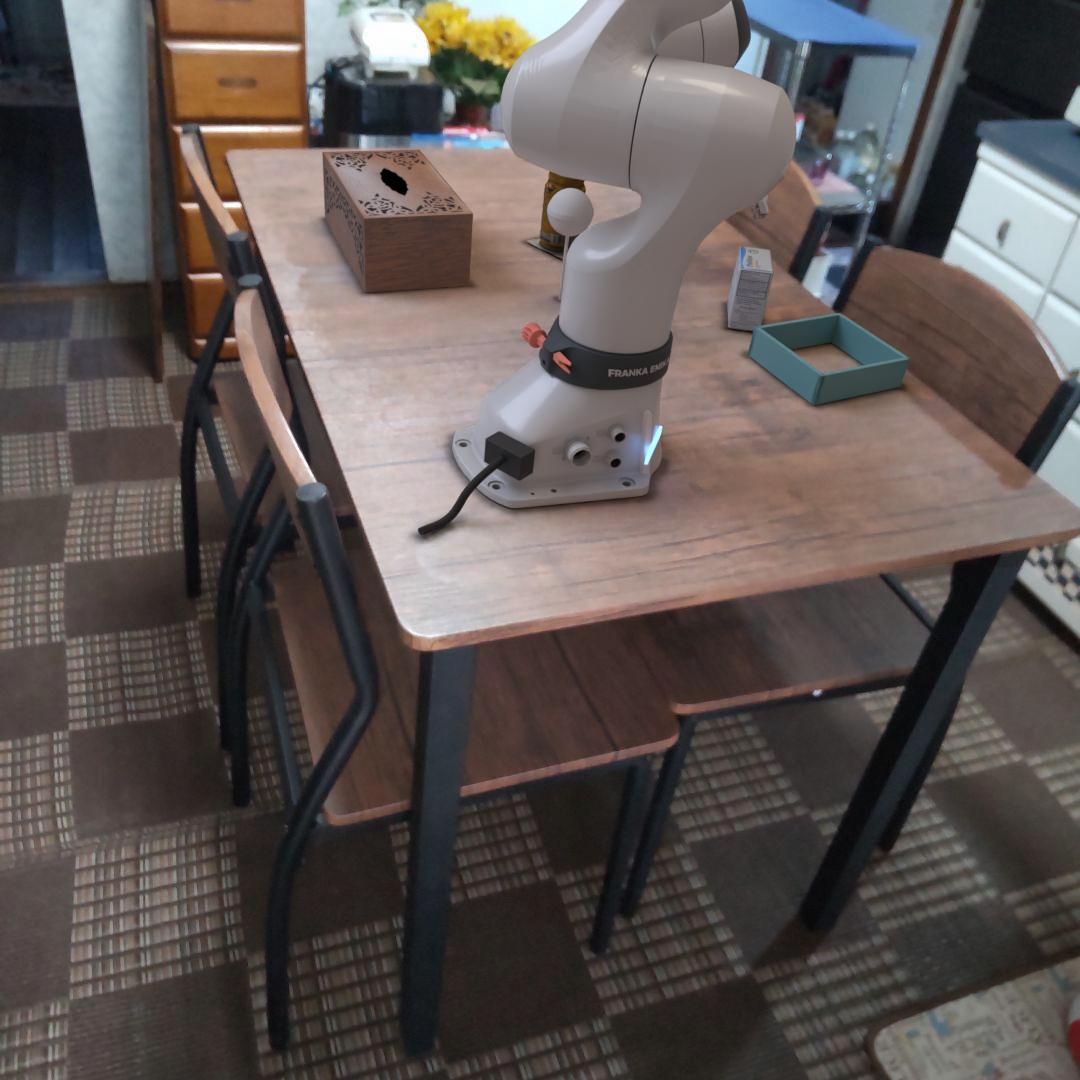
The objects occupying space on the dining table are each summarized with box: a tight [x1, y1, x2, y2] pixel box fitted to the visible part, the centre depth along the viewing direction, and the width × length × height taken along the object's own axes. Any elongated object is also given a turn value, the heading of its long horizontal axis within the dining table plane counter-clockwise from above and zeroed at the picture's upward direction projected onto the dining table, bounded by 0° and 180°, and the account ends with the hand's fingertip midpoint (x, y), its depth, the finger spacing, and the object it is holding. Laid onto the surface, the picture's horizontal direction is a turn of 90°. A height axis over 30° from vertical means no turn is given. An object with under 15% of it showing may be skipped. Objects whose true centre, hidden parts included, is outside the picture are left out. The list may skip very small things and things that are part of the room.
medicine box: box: [726, 246, 774, 332], centre depth 134 cm, size 8×4×9 cm, turn 172°
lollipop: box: [547, 188, 595, 301], centre depth 131 cm, size 6×6×15 cm
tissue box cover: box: [321, 149, 474, 294], centre depth 140 cm, size 26×14×10 cm, turn 21°
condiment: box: [526, 171, 587, 260], centre depth 146 cm, size 7×8×12 cm
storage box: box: [747, 312, 911, 406], centre depth 125 cm, size 14×13×4 cm
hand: (734, 220), depth 135 cm, fingers open, 8 cm apart
